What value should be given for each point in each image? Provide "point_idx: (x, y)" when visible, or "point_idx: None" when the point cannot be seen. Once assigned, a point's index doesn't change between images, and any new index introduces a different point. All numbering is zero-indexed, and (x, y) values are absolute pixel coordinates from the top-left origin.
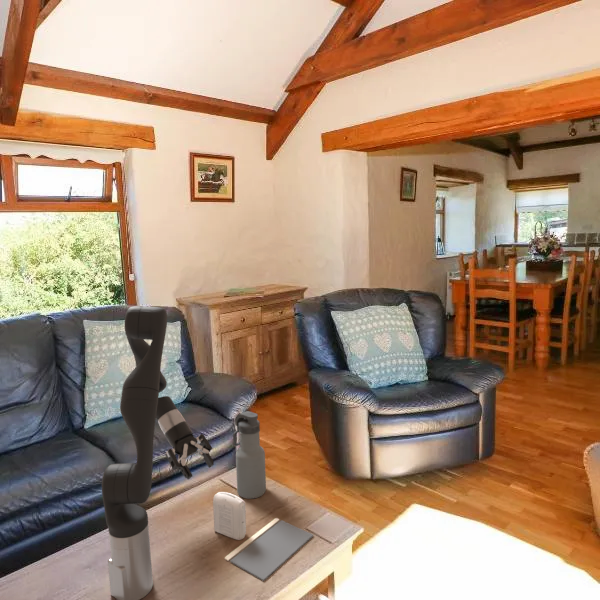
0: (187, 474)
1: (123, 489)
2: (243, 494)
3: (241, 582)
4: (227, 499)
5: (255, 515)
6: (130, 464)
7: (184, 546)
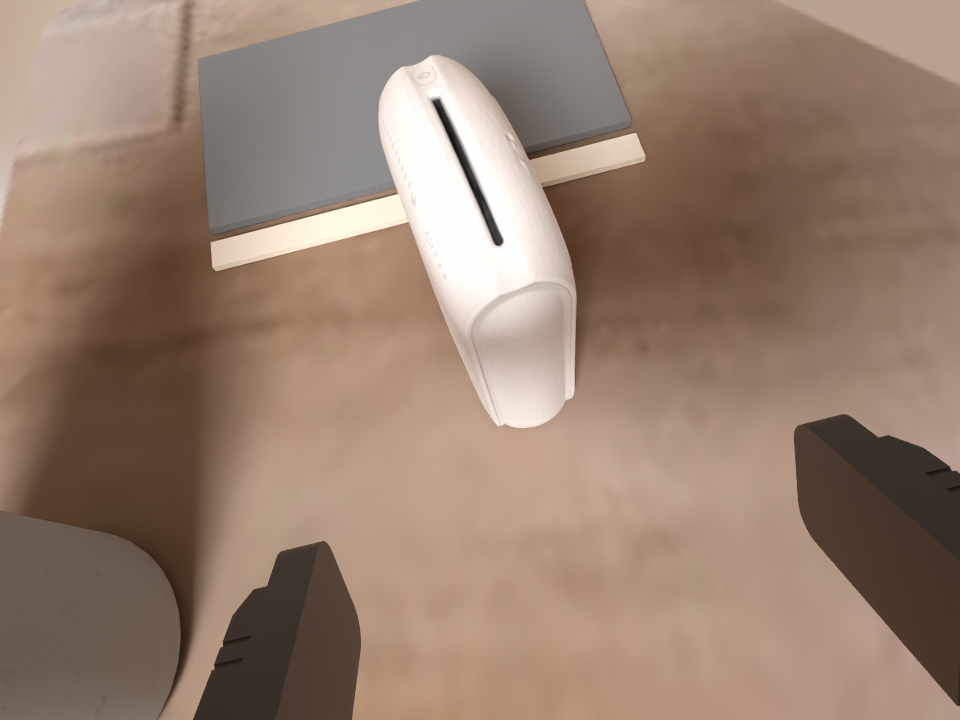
0: (907, 453)
1: None
2: (165, 607)
3: (651, 6)
4: (499, 122)
5: (272, 376)
6: None
7: (811, 389)
